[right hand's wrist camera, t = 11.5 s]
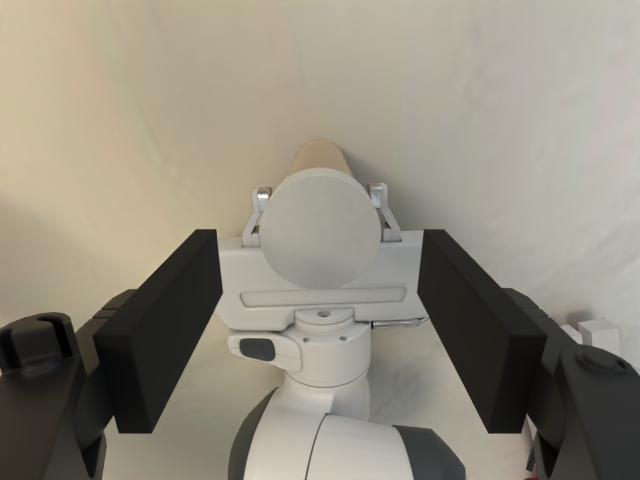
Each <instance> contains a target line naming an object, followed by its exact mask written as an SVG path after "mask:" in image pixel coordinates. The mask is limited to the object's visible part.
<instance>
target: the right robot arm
mask: <svg viewBox="0 0 640 480" xmlns="http://www.w3.org/2000/svg"><path fill="white" fill-rule="evenodd" d="M222 294H223V286H222V277H221V268H220V259H219V250H218V241H217V232H216V229H196V230H195V231H194V232H193V233H192V234H191V235H190V236H189V237H188V238H187V239H186V240H185V241H184V242H183V243H182V244H181V245H180V246H179V247H178V248H177V249H176V250H175V251H174V252H173V253H172V254H171V255H170V256H169V258H168V259H167V260H166V261H165V262H164V263H163V264H162V265H161V266H160V267H159V268H158V269H157V270H156V271H155V272H154V273H153V274H152V275H151V276H150V277H149V278H148V279H147V280H146V281H145V282H144V283H143V284H142V285H141V286H140V287H139V288H138V289H128V290H126V291H125V292H123V293H121V294H119V295H117V296H115V297H114V298H112V299H111V300H110V301H109V302H108V303H107V304H106V305H105V306H103V307H102V308H101V309H102V310H99V311H98V312H97V313H96V314H95V315H94V316H93V317H92V319H90V320H89V321H88V322H86V323H85V324H84V325H83V326H82V327H81V328H80V329H79V330H78V331H77V332H76V333H74V329H73V326H72V323H71V319H70V317H69V316H67V315H66V314H64V313H56V312H51V313H41V314H37V315H33V316H29V317H25V318H22V319H20V320H17V321H15V322H12V323H10V324H8V325H6V326H4V327H3V328H1V329H0V368H1V371H2V375H1V377H0V480H102V475H103V468H104V461H105V454H106V448H107V444H106V438H105V434H104V431H103V430H104V429H105V427H106V426H107V424H108V423H109V421H110V420H111V418H112V417H113V415H114V417H115V421H116V424H117V428H118V432H119V433H152V432H153V430H154V428H155V426H156V424H157V422H158V420H159V418H160V416H161V414H162V412H163V410H164V408H165V406H166V404H167V402H168V400H169V398H170V396H171V394H172V392H173V390H174V388H175V387H176V385H177V383H178V381H179V379H180V377H181V375H182V373H183V371H184V369H185V367H186V365H187V363H188V361H189V359H190V357H191V355H192V353H193V351H194V349H195V347H196V345H197V343H198V341H199V339H200V338H201V336H202V334H203V332H204V330H205V328H206V326H207V324H208V322H209V320H210V318H211V316H212V314H213V312H214V310H215V308H216V306H217V304H218V302H219V300H220V298H221V296H222ZM417 294H418V296H419V298H420V300H421V302H422V304H423V306H424V308H425V310H426V312H427V314H428V316H429V318H430V320H431V322H432V324H433V326H434V328H435V330H436V332H437V334H438V336H439V338H440V339H441V341H442V343H443V345H444V347H445V349H446V351H447V353H448V355H449V357H450V359H451V361H452V363H453V365H454V367H455V369H456V371H457V373H458V375H459V377H460V379H461V381H462V383H463V385H464V387H465V388H466V390H467V392H468V394H469V396H470V398H471V400H472V402H473V404H474V406H475V408H476V410H477V412H478V414H479V416H480V418H481V420H482V422H483V424H484V426H485V428H486V430H487V432H488V433H521V432H522V428H523V424H524V421H525V417H526V414H527V415H528V416H529V418H530V419H531V421H532V422H533V424H534V425H535V427H536V428H537V431H536V434H535V438H534V441H533V444H532V448H531V451H530V455H529V458H528V461H527V468H526V470H528V471H531V472H532V469H533V466H534V463H536V467H537V473H538V480H640V376H639V374H638V373H637V371H636V370H635V369H634V368H633V367H632V366H631V365H630V364H629V363H628V362H626V361H625V360H623V359H622V358H620V357H619V356H617V355H615V354H613V353H611V352H608V351H606V350H604V349H601V348H597V347H594V346H591V345H584V344H578V343H577V342H576V341H575V340H574V339H573V338H572V337H570V336H569V335H568V334H567V333H566V332H565V331H564V330H563V329H562V328H561V327H560V326H559V325H558V324H556V323H555V322H554V321H553V320H552V319H551V318H548V315H547V314H546V313H545V312H544V311H543V310H541V309H539V307H538V306H537V305H536V304H535V303H534V302H533V301H532V300H531V299H530V298H529V297H527V296H525V295H524V294H522V293H520V292H518V291H516V290H514V289H512V288H501V287H500V286H499V285H498V284H497V283H496V282H495V281H494V280H493V279H492V278H491V277H490V276H489V275H488V274H487V273H486V272H485V271H484V270H483V269H482V268H481V267H480V266H479V265H478V264H477V263H476V262H475V261H474V260H473V259H472V258H471V256H470V255H469V254H468V253H467V252H466V251H465V250H464V249H463V248H462V247H461V246H460V245H459V244H458V243H457V242H456V241H455V240H454V239H453V238H452V237H451V236H450V235H449V234H448V233H447V232H446V231H445V230H444V229H424V232H423V241H422V250H421V259H420V268H419V277H418V286H417Z"/></svg>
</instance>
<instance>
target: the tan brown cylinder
mask: <svg viewBox="0 0 640 480" xmlns="http://www.w3.org/2000/svg"><path fill="white" fill-rule="evenodd" d="M310 168H329V169H334V170H337V171H341V172H343V173H345V174H347V175H349V176H350V177H352V178H354V177H353V174H352V172H351V170H350V168H349V166H348V163H347V161H346V159H345V157H344V155H343V153H342V151H341V150H340V148H339V147H338V146H337V145H335V144H334V143H332V142H330V141H327V140H322V139H318V140H313V141H310V142H308V143H306V144H305V145H303V146H302V147H301V148H300V150H299V151H298V153H297V155H296V157H295V159H294V161H293V163H292V166H291V168H290V170H289V172H288V174H287V177H286V179H287V178H288V177H289V176H291V175H293V174H295V173H297V172H300V171H302V170H306V169H310Z"/></svg>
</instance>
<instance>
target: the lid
mask: <svg viewBox="0 0 640 480" xmlns="http://www.w3.org/2000/svg"><path fill="white" fill-rule="evenodd" d="M259 241H260V246H261V249H262V252H263V254H264V257H265V259H266V260H267V262H268V263H269V265H270V266H271V267H272V269H273V270H274V271H275V272H276V273H277V274H278V275H279V276H281V277H282V278H283V279H285V280H286V281H288V282H290V283H292V284H294V285H296V286H299V287H302V288H306V289H312V290H328V289H334V288H338V287H341V286H344V285H346V284H348V283H350V282H352V281H354V280H355V279H357V278H358V277H359V276H360V275H362V274H363V273H364V272H365V271H366V270H367V269H368V267H369V266H370V265H371V263H372V262H373V260H374V258H375V257H376V254H377V252H378V249H379V246H380V241H381V224H380V219H379V216H378V213H377V211H376V209H375V207H374V205H373V203H372V201H371V199H370V197H369V195H368V194H367V192H366V191H365V189H364V188H363V187H362V186H361V185H360V184H359V183H358V182H357V181H356V180H355V179H354V178H352V177H350V176H349V175H347V174H345V173H343V172H341V171H337V170H334V169H329V168H310V169H306V170H302V171H300V172H297V173H295V174H293V175H291V176H289V177H288V178H287V179H285V180H284V181H283V182H282V183H281V184H280V185H279V186H278V187H277V188H276V189H275V191H274V192H273V194H272V195H271V197H270V199H269V201H268V203H267V204H266V206H265V208H264V211H263V213H262V216H261V219H260V224H259Z"/></svg>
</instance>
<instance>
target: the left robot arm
mask: <svg viewBox="0 0 640 480" xmlns="http://www.w3.org/2000/svg"><path fill="white" fill-rule="evenodd" d="M367 191H368V195H369V197H370V199H371V201H372V203H373V205H374V207H375V208H379V209H380V211H381V212H382V214H383V216H384V217H385V219H386V221H380V224H381V241H380V246H379V249H378V252H377V254H376V257H375V258H374V260H373V262H372V263H371V265H370V266H369V267H368V269H367V270H366V271H365V272H364V273H363V274H362V275H360V276H359V277H358V278H357V279H355V280H354V281H352V282H350V283H348V284H346V285H344V286H341V287H338V288H334V289H328V290H312V289H306V288H302V287H299V286H296V285H294V284H292V283H290V282H288V281H286V280H285V279H283V278H282V277H281V276H279V275H278V274H277V273H276V272H275V271H274V270H273V269H272V267H271V266H270V265H269V263H268V262H267V260H266V259H265V257H264V254H263V252H262V249H261V246H260V241H259V225H257V226H256V223H257V221H258V219H259V217H260V215H261V213H262V212H263V211H264V208H265V206H266V204H267V203H268V201H269V199H270V197H271V195H272V188H271V187H254V188H253V189H252V192H251V198H252V207H253V212H252V213H251V215H250V217H249V220H248V222H247V224H246V226H245V228H244V230H243V232H242V237H222V238H218V239H217V241H218V250H219V259H220V268H221V277H222V286H223V294H222V296H221V298H220V300H219V302H218V304H217V306H216V308H215V310H214V312H215V314H216V316H217V318H218V319H219V320H220V322H221V323H222V324H224V325H225V326H226V327H228V328H229V332H228V338H227V347H228V350H229V352H230V353H231V354H233V355H235V356H238V357H242V358H247V359H251V360H255V361H259V362H263V363H267V364H270V365H273V366H276V367H279V368H282V369H283V370H284V373H285V379H284V382H283V385H282V386H281V387H280V388H278V387H277V388H275V389H274V390H272V391H271V392H270V393H269V394H268V395H267V396H266V397H265V398H264V399H263V400H262V401H261V402H260V403H259V404H258V405H257V406H256V407H255V408H254V409H253V410H252V411H251V412H250V413H249V415H248V416H247V417H246V419H245V420H244V422H243V423H242V425H241V427H240V429H239V431H238V433H237V435H236V438H235V440H234V443H233V446H232V449H231V453H230V459H229V467H228V480H468V479H467V476H466V474H465V467H464V465H463V464H462V463H461V461H460V460H459V458H458V457H457V456H456V455H455V453H454V452H453V451H452V450H451V449H450V448H449V446H448V445H447V444H446V443H445V442H444V441H443V440H442V439H441V438H440V437H439V436H438V435H437V434H436V433H435V432H434V431H433V430H432V429H428V428H418V427H408V426H398V425H392V426H387V425H382V424H377V423H372V422H368V420H369V409H370V386H369V382H368V379H367V377H366V375H367V373H368V370H369V367H370V361H371V330H372V329H377V328H391V327H392V328H393V327H416V326H419V323H421V322H424V321H426V320H428V319H429V316H428V314H427V312H426V310H425V308H424V306H423V304H422V302H421V300H420V298H419V296H418V294H417V286H418V277H419V268H420V259H421V250H422V241H423V232H424V231H423V230H416V231H400V227H399V225H398V223H397V221H396V220H395V218H394V216H393V214H392V213H391V211H390V209H389V207H388V206H387V204H388V187H387V184H386V183H367Z"/></svg>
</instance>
